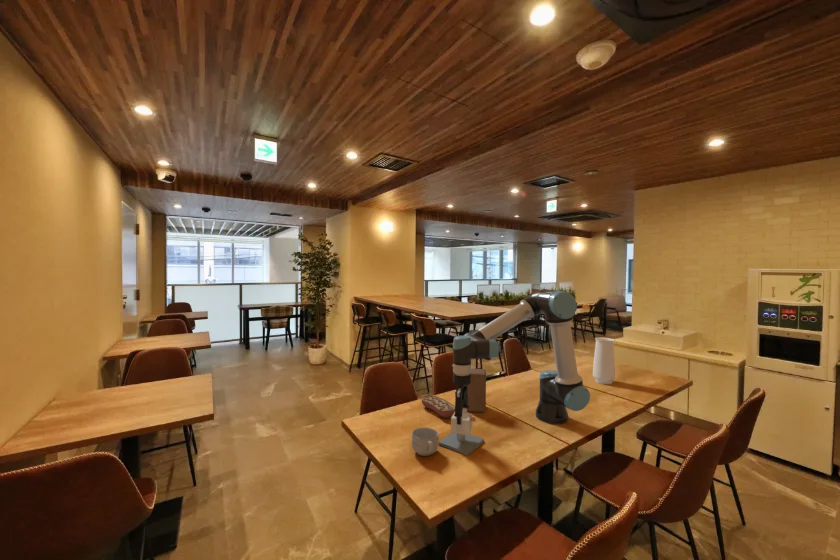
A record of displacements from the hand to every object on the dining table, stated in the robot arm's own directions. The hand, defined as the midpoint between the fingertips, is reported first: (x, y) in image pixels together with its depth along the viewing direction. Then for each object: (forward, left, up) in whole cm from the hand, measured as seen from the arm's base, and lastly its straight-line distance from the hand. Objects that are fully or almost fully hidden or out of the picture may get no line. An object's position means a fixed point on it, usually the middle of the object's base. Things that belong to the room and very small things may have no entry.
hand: (461, 426), depth 147 cm
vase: (-34, -125, -7) cm, 130 cm away
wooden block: (+12, -36, -7) cm, 39 cm away
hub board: (0, 0, -7) cm, 7 cm away
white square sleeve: (0, 0, -1) cm, 1 cm away
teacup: (+7, +16, -7) cm, 19 cm away
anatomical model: (+26, -21, -7) cm, 34 cm away
